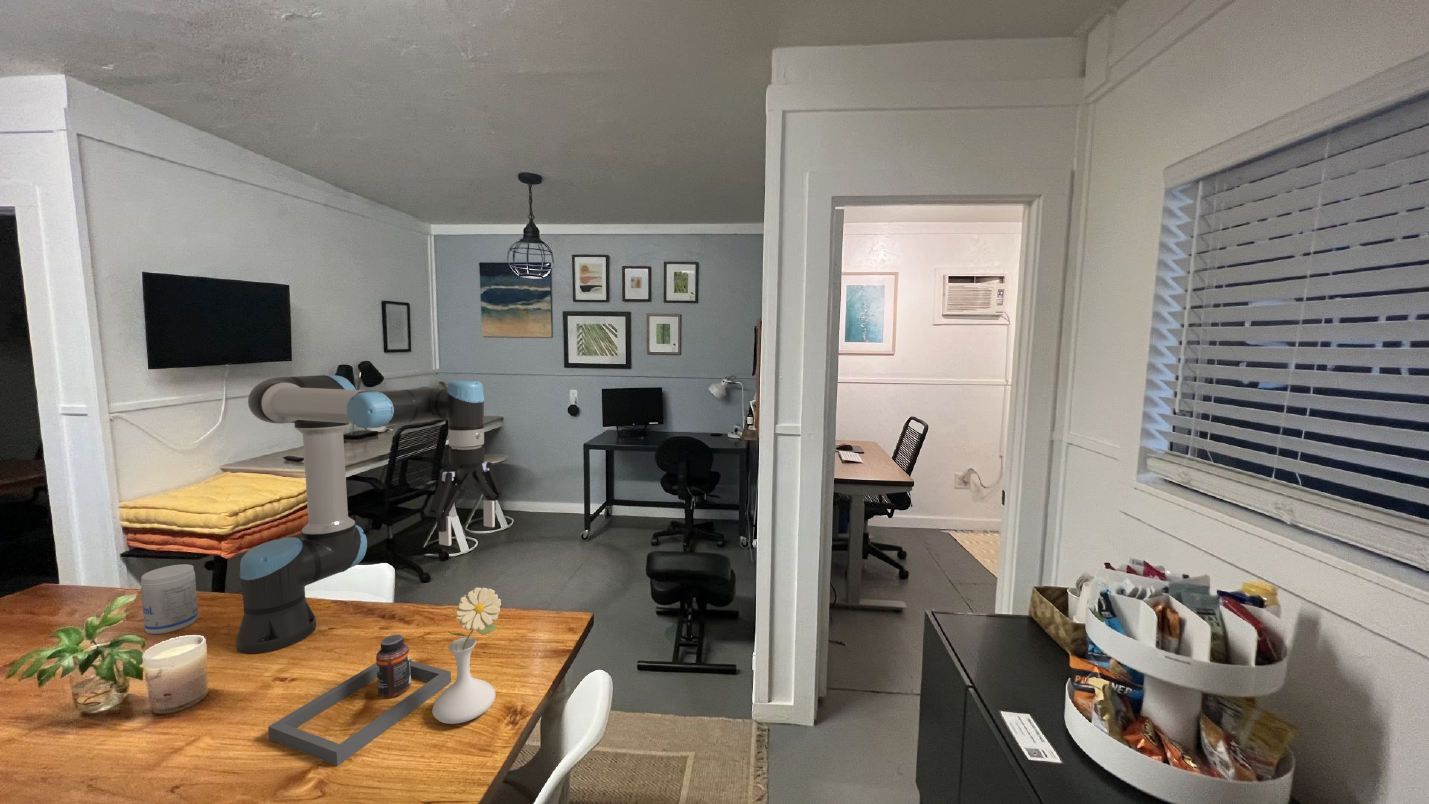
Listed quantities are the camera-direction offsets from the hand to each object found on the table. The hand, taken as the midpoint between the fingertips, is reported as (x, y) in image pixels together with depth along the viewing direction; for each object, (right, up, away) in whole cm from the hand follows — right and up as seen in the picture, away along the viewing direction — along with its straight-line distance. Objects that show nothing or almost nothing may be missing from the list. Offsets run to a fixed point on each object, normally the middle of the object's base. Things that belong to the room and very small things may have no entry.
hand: (468, 535), depth 122 cm
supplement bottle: (-9, -30, -13) cm, 34 cm away
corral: (-11, -30, -19) cm, 37 cm away
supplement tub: (-82, -27, +11) cm, 87 cm away
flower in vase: (+9, -30, -19) cm, 37 cm away
